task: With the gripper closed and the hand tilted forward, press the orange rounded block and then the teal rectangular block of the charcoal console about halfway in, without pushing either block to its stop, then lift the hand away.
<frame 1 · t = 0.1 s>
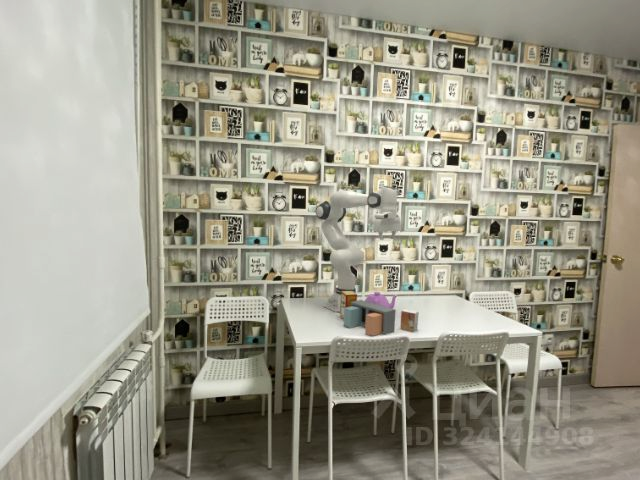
hand: (387, 239, 232), 48 cm above the table, tool pointing down, fingers open, 8 cm apart
orange rounded block: (374, 323, 214), point 5 cm above the table, slide at 0.0 cm
baking soda box: (347, 319, 240), on the table
teapot: (379, 314, 251), on the table
teal rectangular block: (353, 316, 226), point 5 cm above the table, slide at 0.0 cm
console: (366, 328, 222), on the table
small box: (408, 330, 223), on the table
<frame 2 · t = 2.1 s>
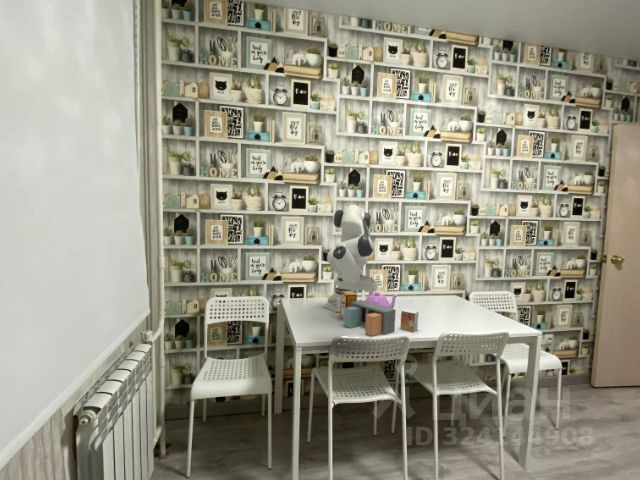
hand: (363, 293, 202), 24 cm above the table, tool tilted 40°, fingers open, 8 cm apart
nothing on the table moved.
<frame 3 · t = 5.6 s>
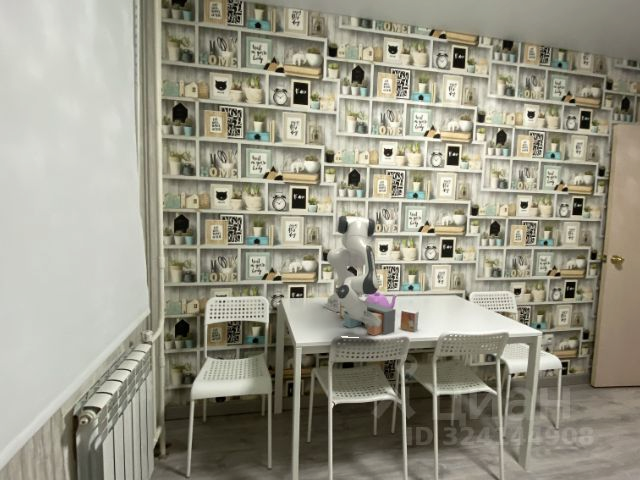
hand: (369, 325, 212), 5 cm above the table, tool tilted 45°, fingers closed, pressing on orange rounded block
orange rounded block: (376, 323, 215), point 5 cm above the table, slide at 1.3 cm, touching gripper
everything else where it was.
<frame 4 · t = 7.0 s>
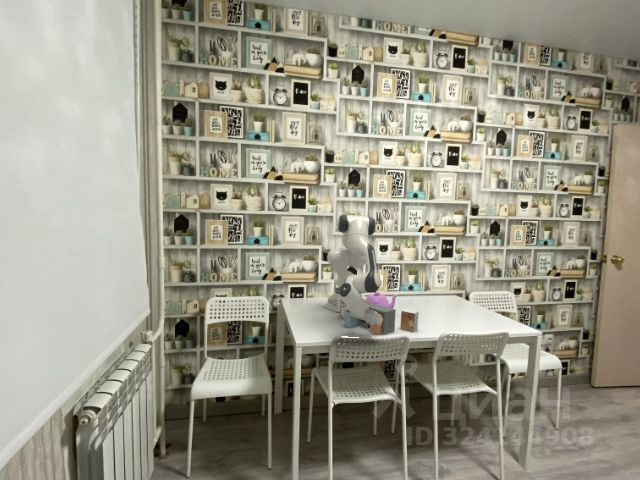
hand: (371, 323, 212), 6 cm above the table, tool tilted 45°, fingers closed
orange rounded block: (379, 322, 217), point 5 cm above the table, slide at 3.7 cm
everything else where it was.
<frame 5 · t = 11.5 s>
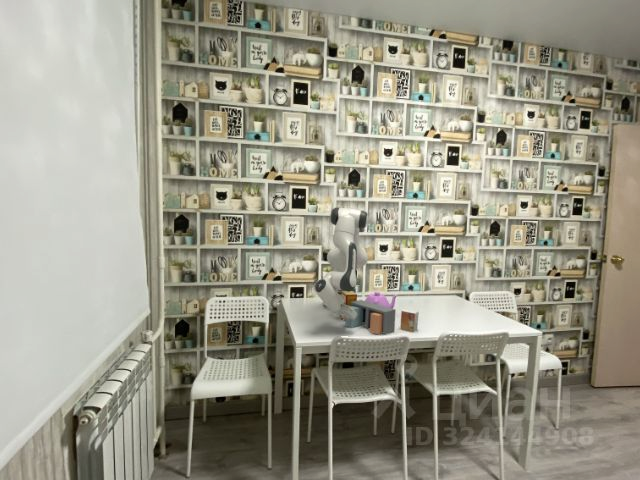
hand: (347, 317, 223), 5 cm above the table, tool tilted 45°, fingers closed, pressing on teal rectangular block
teal rectangular block: (354, 316, 227), point 5 cm above the table, slide at 0.9 cm, touching gripper
everything else where it was.
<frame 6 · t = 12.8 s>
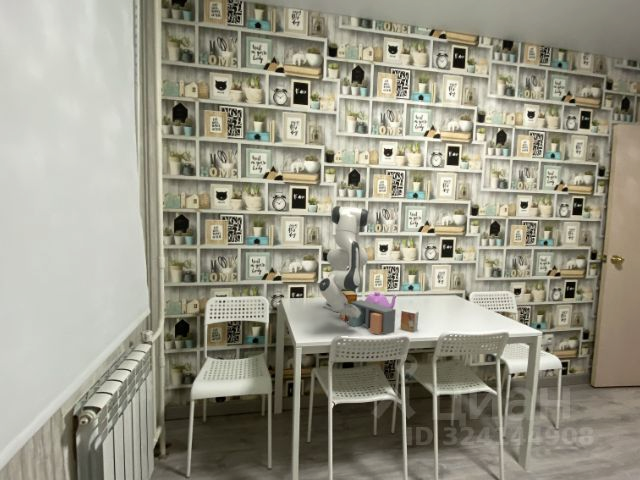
hand: (350, 316, 225), 5 cm above the table, tool tilted 45°, fingers closed
teal rectangular block: (357, 315, 229), point 5 cm above the table, slide at 3.7 cm
everything else where it was.
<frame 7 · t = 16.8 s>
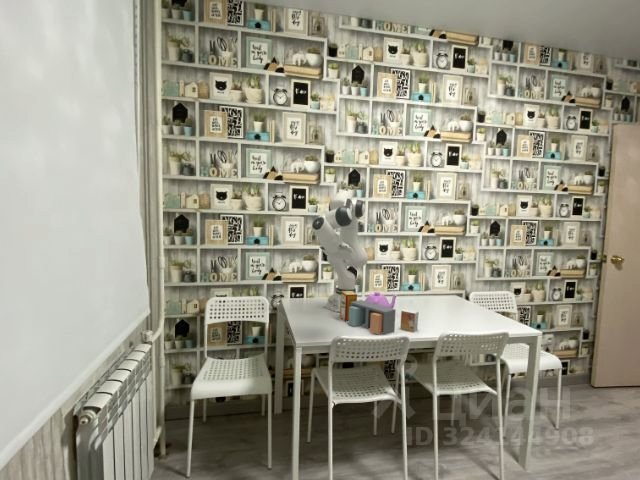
hand: (346, 262, 213), 37 cm above the table, tool tilted 45°, fingers closed
nothing on the table moved.
at the end: orange rounded block slide at 3.7 cm; teal rectangular block slide at 3.7 cm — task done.
